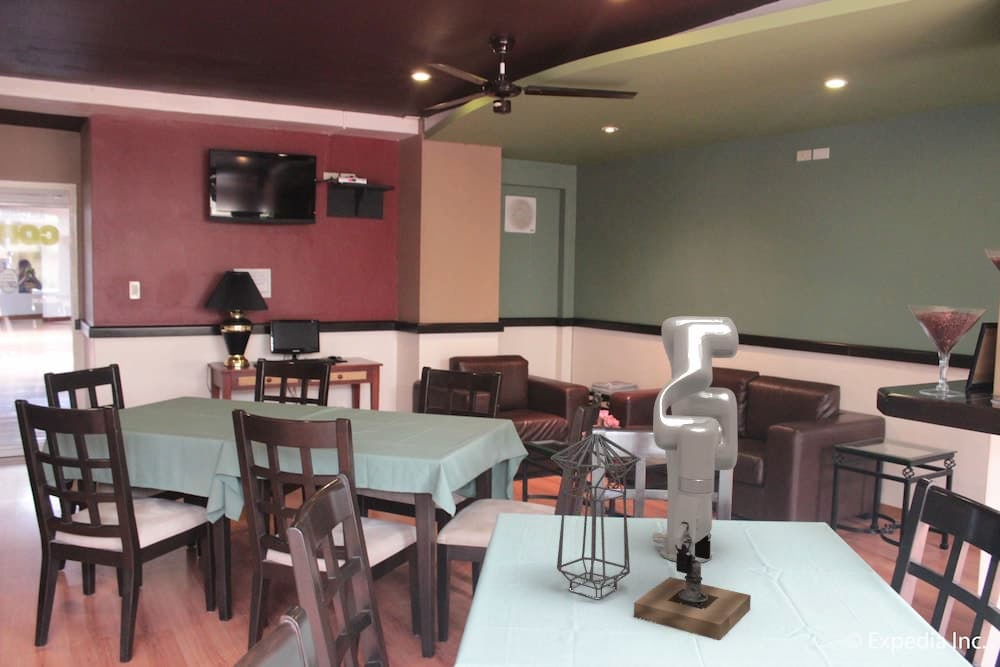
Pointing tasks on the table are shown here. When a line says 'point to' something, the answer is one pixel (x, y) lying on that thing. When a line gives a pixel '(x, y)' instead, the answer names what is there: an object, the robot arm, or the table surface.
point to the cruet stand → (693, 608)
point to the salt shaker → (693, 588)
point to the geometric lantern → (558, 459)
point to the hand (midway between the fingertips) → (693, 564)
